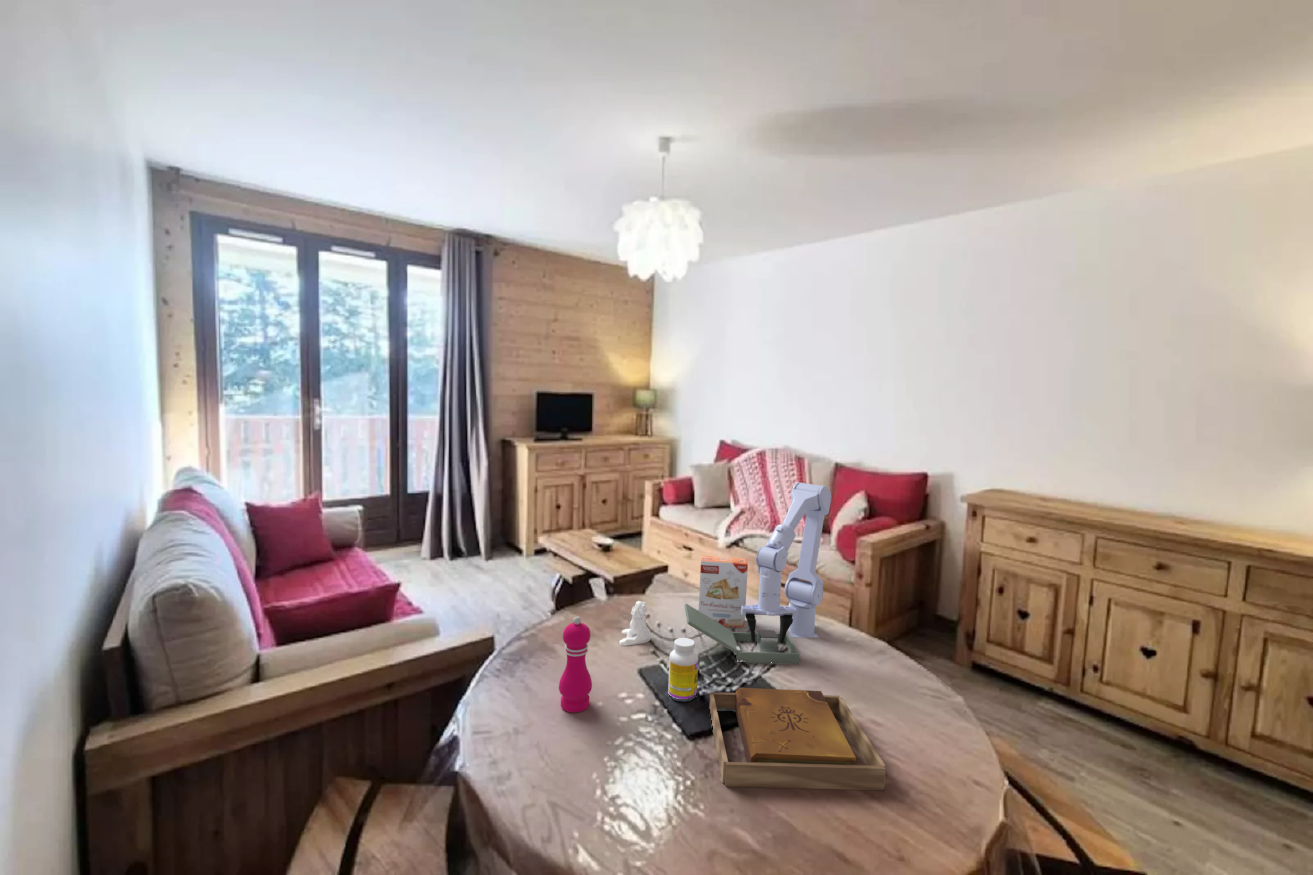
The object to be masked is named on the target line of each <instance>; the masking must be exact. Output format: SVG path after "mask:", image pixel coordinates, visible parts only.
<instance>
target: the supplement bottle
mask: <svg viewBox="0 0 1313 875" xmlns="http://www.w3.org/2000/svg"><path fill="white" fill-rule="evenodd" d="M695 644H696V643H695V641H694V640H693V639H691V638H689V637H688V638H687V637H679V638H676V639H675V640H674V642H673V647H674V649H672V651H670V654H669V658H668V659H669V663H668V688H667V694H669V695H670V696H672V697H673V698H676V699H688V698H691V697H693V696H694V695H696V693H697V694H698V679H699V678H698V677H699V656H698V653H697V652H696V651H695ZM669 695H668V696H669Z"/></svg>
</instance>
